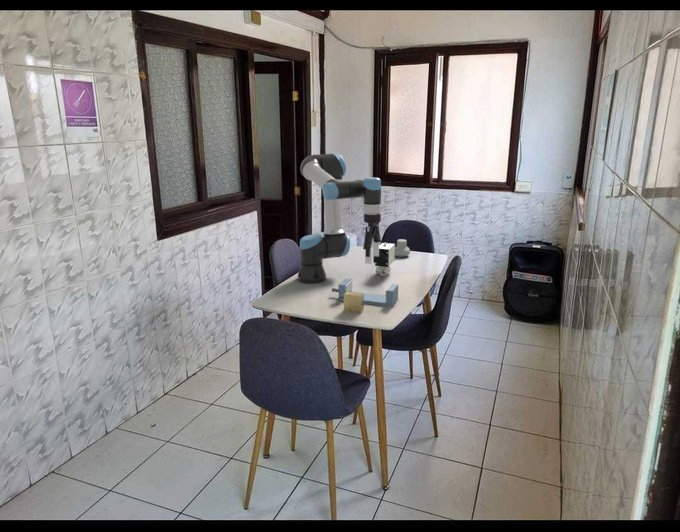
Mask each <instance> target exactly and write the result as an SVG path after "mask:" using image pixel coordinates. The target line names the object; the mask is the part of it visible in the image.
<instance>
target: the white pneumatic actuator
mask: <svg viewBox="0 0 680 532" xmlns="http://www.w3.org/2000/svg"><path fill="white" fill-rule="evenodd" d="M395 247H396V243H390V242H381V244H380V243H379V256H373V255H372V256H373V261H372V262H373V263H374V266H375V267H376V268H375V273H376V274H378V275H380V277H386V276H388V274H390V272H391V265H392V264H393V263H394V262H395V261H396V259H395V258H396V255H395Z"/></svg>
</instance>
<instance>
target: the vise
mask: <svg viewBox="0 0 680 532" xmlns="http://www.w3.org/2000/svg"><path fill="white" fill-rule="evenodd" d="M351 292H354V291H353V290H352V291H351ZM356 292H357V293H364V305H365V304H366V305H373V306H374V305H375V306H381V305H383V307H390V306H391V308H393V307H394V306H395V304H396V303H397V301H398V300H399V283H391V284H390V285H389V286H388V287H387V288H386V290H385V294H379V293H370V292H369V293H368V292H360V291H356ZM339 300H340V302H341V301H342V302H344V297H339V296H338V301H339Z"/></svg>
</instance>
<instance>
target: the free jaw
mask: <svg viewBox="0 0 680 532" xmlns="http://www.w3.org/2000/svg"><path fill="white" fill-rule="evenodd" d="M337 286H338V287H337V288H335V287H334V288H333V287H332V289H331V292H334V293H338V298H339V297H344V293H346V292H347V291H348V292H351V291H353V290H352V289H353V280H352V278H344V279H343V280H342V281H341V282H340V283H338V285H337Z"/></svg>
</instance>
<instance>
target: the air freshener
mask: <svg viewBox="0 0 680 532" xmlns="http://www.w3.org/2000/svg"><path fill="white" fill-rule="evenodd" d="M407 241H408V240H407V239H403V238H402V239H401V238H400V239H397V240H396V246H395V257H397V256H398V257H397V258H405V256H406V257H408V256H409V255H411V250H410V247H408V245H407V243H408V242H407Z"/></svg>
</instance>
